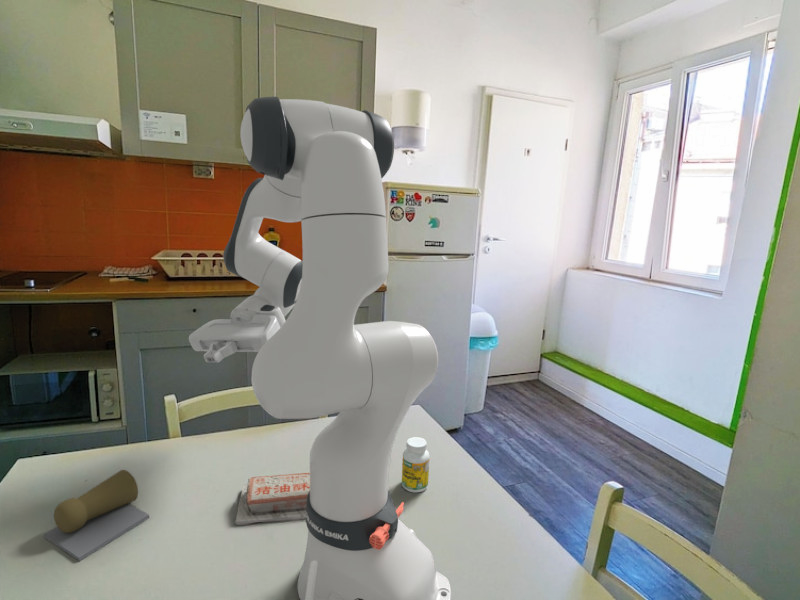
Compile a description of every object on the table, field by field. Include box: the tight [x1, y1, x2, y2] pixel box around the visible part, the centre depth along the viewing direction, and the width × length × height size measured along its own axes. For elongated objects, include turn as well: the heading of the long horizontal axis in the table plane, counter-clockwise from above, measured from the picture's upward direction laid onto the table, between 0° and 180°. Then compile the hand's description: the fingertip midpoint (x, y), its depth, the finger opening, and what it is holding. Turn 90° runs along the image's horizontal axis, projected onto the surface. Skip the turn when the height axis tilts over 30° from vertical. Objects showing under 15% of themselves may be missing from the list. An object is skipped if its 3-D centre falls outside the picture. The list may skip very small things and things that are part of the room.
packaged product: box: [234, 472, 310, 526], centre depth 80 cm, size 18×5×10 cm
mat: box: [43, 503, 150, 562], centre depth 72 cm, size 10×11×1 cm
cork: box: [53, 469, 139, 533], centre depth 74 cm, size 6×6×11 cm
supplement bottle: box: [401, 436, 431, 493], centre depth 87 cm, size 5×5×10 cm
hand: (210, 359), depth 83 cm, fingers closed
